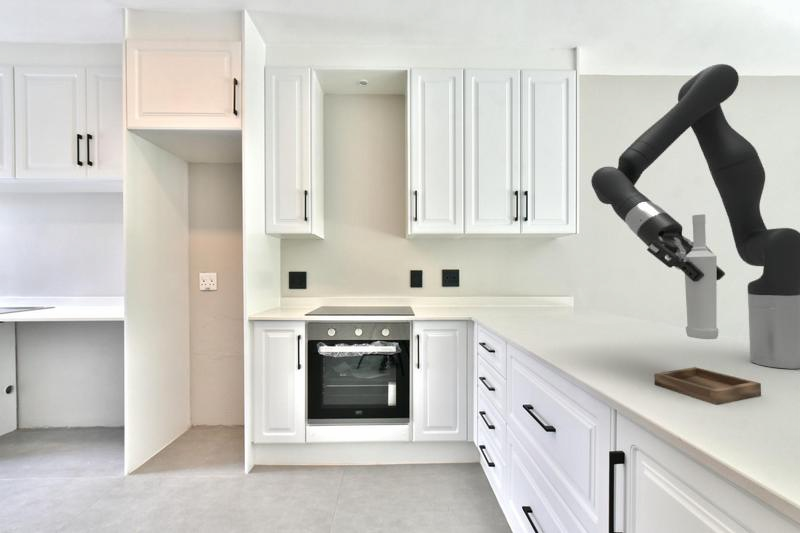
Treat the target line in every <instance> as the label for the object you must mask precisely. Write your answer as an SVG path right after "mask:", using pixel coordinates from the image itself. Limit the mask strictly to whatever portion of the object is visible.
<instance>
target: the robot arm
mask: <svg viewBox="0 0 800 533" xmlns="http://www.w3.org/2000/svg"><path fill="white" fill-rule="evenodd" d="M739 81H740V78H739V72H737V70H736V69H735V67H733V66H731V65H729V64H727V63H726V64H724V63H720V64H719V63H718V64H713V65H711V66H709V67H706V68H704V69H702V70H700V71H699V72H698V73H696V74H695V75H694V76H692V77H691V78H690V79H689V80H687V81H686V82H685V83H684V84H683V85H682V86H681V87H680V89H679V91H678V94H677V101H678V102H677V103H676V104H675V105H674V106H673V107H672V108H671V109H670V110H668V112H666V113H665V114H664V115H663V116H661V118H659V119H658V120H657V121H656V122H655V123H654V124H653V125H651V126H650V127H648V129H646V130H645V131H644V132H643V133H642V134H641V135H639V136H638V137H637V138H636V139H635V141H633V142H632V143H631V144H630V145H629V146H628V147H627V148H626V149H625V150H624V151H623V152H622V153H621V154H620V156H619V158H618V165H617V167H614V166H602V167H600V168H598V169H597V170H595V172H594V173H593V174H592V176H591V181H590V182H591V187H592V189H593V191H594V193H595V196H596V198H597V199H598V201H600V203H602V204H605V205H610V206H611V207H612V209H613V211H614V212H615V214H616V215H617V217H619V218H620V219H621V220H622V221H623V222H624V223H625V225H627V226H628V228H629V229H630V230H631V231H632V232H633V233H634V234H635V236H637V237H638V238H639V239H640V240H641V241H642V243H644V244H645V245H646V247H647V248H646V251H647V252H649V253H650V254H651V255H652V256H654V257H655V258H656V259H657V260H658V261H660V262H661V263H663V264H664V265H665V266H666V267H667V268H673V267H674V268H675V269H677V270H680V271H681V272H683V273H684V275H685V274H686V275H687V276H688V277H689V278H690V279H691V280H692V281H694V282H698V281H699V280H700V279H701V278H703V277H704V273H703V272H702V271H700V270H699V269H698V268H697V267H696V266H695V265H694V264H693V263H692V262H688V261H689V260H688V258H687V257H686V255H687V254H688V253H690V252H691V249H692V248H693V241H691V240H690V239H689V238H687V237H685V236H684V235H683V226H682V224H681V223H680V222H679V221H677V220H676V219H675V218H674V217H673V216H671V215H670V214H669V213H668V212H666V211H665V210H664V209H663V208H662V207H660V206H659V205H657V204H656V203H654V202H653V201H652V200H650V199H649V198H648V197H647V196H645V195H644V194H643V193H642V192H640V191H639V189H637V187H636V186H635V185H636V184H637V183H638V180H639V179H640V177H641V176H642V174H643V172H644V171H645V170H647V169H648V168H650V166H651V165H652V164H653V163H655V161H656V160H657V159H659V157H660V156H661V155H662V154H663V153H665V151H666V150H667V149H668V148H670V147H671V146H672V145H673V143H674V142H676V140H677V139H679V138H680V137H681V136H682V135H683V134H684V133H685V132H686V131H687V130H688V129H689V128H691V129H692V132H693V133H694V136H695V138H696V139H697V142H698V144H699V145H698V146H699V147H700V150H701V153H702V154H703V156H704V159H705V161H706V163H707V166H708V171H709V172H710V175H711V178H712V180H713V183H714V185H715V187H716V189H717V191H718V194H719V196H720V199H721V203H722V204H723V207H724V209H725V212H726V215H727V217H728V218H727V219H728V222H729V224H730V229H731V232H732V237H733V240H734V244H735V248H736V252H737V254H738V256H739V257H740V259H742V261H743V262H745V263H746V264H747V265H749V266H752V267H763V268H762V269H763V271H762V274H761V275H760V276H759V278H757V279H755V280H752V281H750V282H748V284H747V305H748V328H749V331H748V335H749V360H750V362H751V363H753V364H757V365H760V366H765V367H771V368H779V369H791V370H793V369H795V370H797V369H800V231H798V230H797V229H795V228H790V227H778V228H768V229H767V226H766V224H765V222H764V219H763V217H762V214H761V207H760V204H761V199H762V195H763V191H764V189H765V188H764V187H765V184H766V172H765V168H764V166H763V163H762V160H761V158H760V155H759V154H758V151H757V149H756V148H755V146H754V145H753V144H752V143H751V142H750V141H749V140H747V139H746V138H745V137H744V136H743V135H741V134H740V133H739V132H738V131H736V130H735V128H733V127H732V126H731V125H730V124H729V122H728V120H727V118H726V116H725V114H724V111H723V109H722V106H721V105H722V104H723V103H724V102H725V101H727V100H728V99H729V98H730V97H731V96H732V95H733V94H734V93H735V92H736V90H737V88H738V86H739ZM706 247H707V248H708V251H710V252H711V253H713V252H712V250H710V248H709V247H708V246H707V245H706ZM725 275H726V272H725V271H723V269H721V267H719V266H718V265H717V281H719V280H721V279H722V278H723V277H725Z"/></svg>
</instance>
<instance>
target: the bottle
mask: <svg viewBox="0 0 800 533" xmlns="http://www.w3.org/2000/svg"><path fill="white" fill-rule="evenodd" d="M691 219H692V235H693V236H692V237H693V239H692V240H693V241H692V242H693V248H692V249H691V252H690V253H688V254H687V255H686V257H687V258H688V260H689V261H688V262H692V263H693V264H694V265H695V266H696V267H697V268H698V269H699V270H700V271H702V272H703V273H704V277H703V278H701V279H700V280H699V281H698V282H694V281H692V280H691V279H690V278H689V277H688V276H687V275H686V274H685V273H684V286H685V301H686V321H687V322H686V323H687V324H686V327H685V332H686V333H685V334H686V336H687V337H689V338H693V339H697V340H698V339H700V340H716V339H718V337H719V328H718V327H717V325H718V324H717V323H718V322H717V318H718V317H717V315H718V314H717V311H718V310H717V294H718V293H717V290H718V289H717V281H718V280H717V266H718V265H717V255H716V254H714V252H712V251H711V250H710V251H711V252H712V253H711V252H710V251H708V248H709V247H708V246H707V245H706V244H707V242H706V239H707V238H706V237H707V236H706V214H695V215H692V216H691ZM706 246H707V247H708V248H707V247H706Z"/></svg>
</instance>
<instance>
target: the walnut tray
mask: <svg viewBox="0 0 800 533" xmlns="http://www.w3.org/2000/svg"><path fill="white" fill-rule="evenodd" d="M654 385H655V386H658V387H661V388H664V389H666V390H669V391H673V392H677V393H679V394H682V395H685V396H689V397H692V398H694V399H699V400H701V401H705V402H707V403H710V404H714V405H720V404H725V403H731V402H736V401H741V400H745V399H751V398H756V397H760V396H762V386H761V385H762V384H761V383H760V382H758V381H757V382H756V381H753V380H750V379H749V380H748V379H745V378H741V377H736V376H732V375H729V374H725V373H721V372H717V371H713V370H709V369H704V368H700V367H697V366H694V367H688V368H681V369H676V370H675V369H674V370H669V371H662V372H656V373H654Z"/></svg>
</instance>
